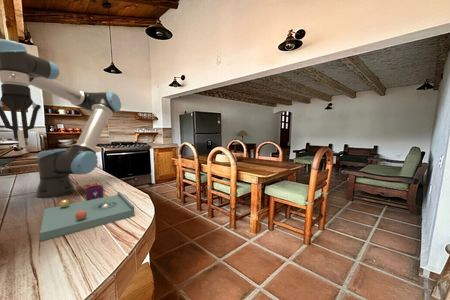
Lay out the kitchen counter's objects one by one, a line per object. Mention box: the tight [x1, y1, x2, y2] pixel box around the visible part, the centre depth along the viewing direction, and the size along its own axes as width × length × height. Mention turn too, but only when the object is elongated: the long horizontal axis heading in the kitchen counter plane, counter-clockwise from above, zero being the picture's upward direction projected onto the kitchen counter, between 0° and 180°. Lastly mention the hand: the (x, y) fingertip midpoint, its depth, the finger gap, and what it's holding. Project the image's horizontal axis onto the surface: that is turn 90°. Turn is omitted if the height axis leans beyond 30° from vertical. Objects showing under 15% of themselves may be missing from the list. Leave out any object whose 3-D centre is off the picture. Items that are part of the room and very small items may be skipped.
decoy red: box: [75, 210, 87, 220], centre depth 65 cm, size 3×3×3 cm
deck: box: [39, 191, 135, 242], centre depth 74 cm, size 24×26×4 cm
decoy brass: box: [58, 198, 71, 208], centre depth 76 cm, size 3×3×3 cm
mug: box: [84, 184, 105, 201], centre depth 91 cm, size 7×10×7 cm
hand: (22, 147), depth 75 cm, fingers closed
